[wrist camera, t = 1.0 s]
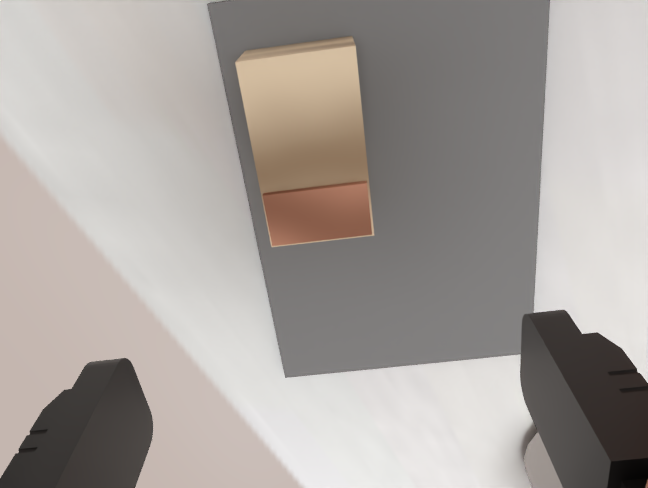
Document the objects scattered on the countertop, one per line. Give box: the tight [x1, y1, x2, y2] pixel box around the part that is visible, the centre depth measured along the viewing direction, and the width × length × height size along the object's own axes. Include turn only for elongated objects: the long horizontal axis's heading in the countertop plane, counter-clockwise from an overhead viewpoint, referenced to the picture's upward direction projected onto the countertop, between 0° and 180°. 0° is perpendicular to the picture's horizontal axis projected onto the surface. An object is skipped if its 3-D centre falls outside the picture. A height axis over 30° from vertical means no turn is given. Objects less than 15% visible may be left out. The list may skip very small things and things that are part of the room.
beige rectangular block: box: [235, 36, 374, 247], centre depth 24 cm, size 8×5×3 cm, turn 7°
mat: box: [207, 0, 550, 378], centre depth 27 cm, size 20×14×1 cm
